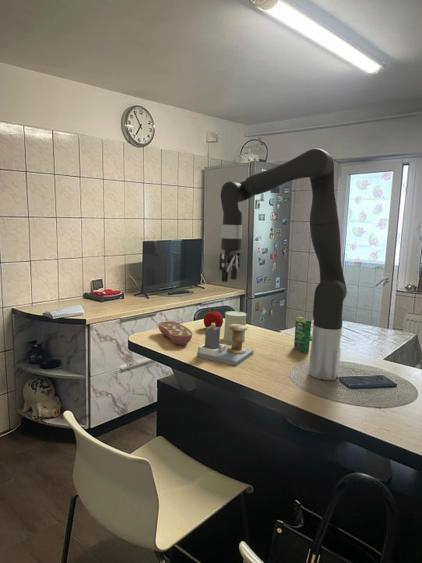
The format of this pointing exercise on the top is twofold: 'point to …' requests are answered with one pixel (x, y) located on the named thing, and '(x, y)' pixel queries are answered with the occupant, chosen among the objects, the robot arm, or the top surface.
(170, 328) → the bread loaf
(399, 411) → the top surface
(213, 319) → the apple
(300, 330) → the coffee box
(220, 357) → the board
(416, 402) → the top surface
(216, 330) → the gray rectangular block
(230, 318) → the can
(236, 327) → the bobbin
